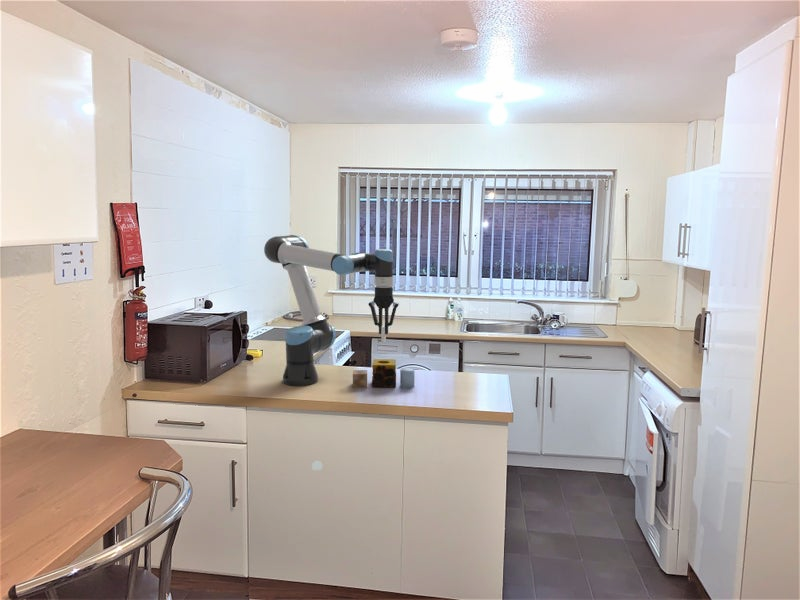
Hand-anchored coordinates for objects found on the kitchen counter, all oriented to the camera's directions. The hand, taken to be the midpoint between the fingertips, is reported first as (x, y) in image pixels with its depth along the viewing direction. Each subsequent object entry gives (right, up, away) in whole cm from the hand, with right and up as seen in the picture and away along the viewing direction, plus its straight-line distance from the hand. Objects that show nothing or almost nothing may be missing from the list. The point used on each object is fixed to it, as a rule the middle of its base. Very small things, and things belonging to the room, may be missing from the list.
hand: (383, 341), depth 253 cm
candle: (0, -19, +3) cm, 19 cm away
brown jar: (-10, -19, +1) cm, 21 cm away
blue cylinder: (+10, -19, 0) cm, 21 cm away
